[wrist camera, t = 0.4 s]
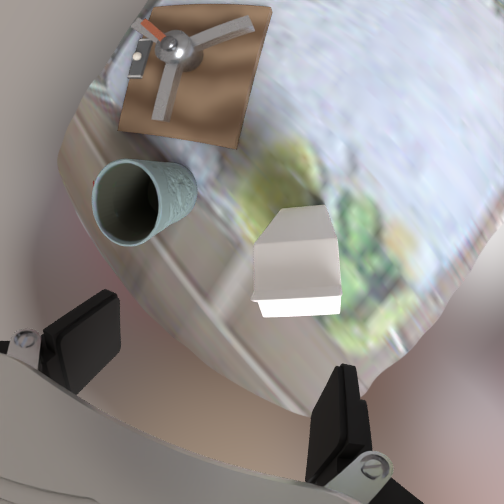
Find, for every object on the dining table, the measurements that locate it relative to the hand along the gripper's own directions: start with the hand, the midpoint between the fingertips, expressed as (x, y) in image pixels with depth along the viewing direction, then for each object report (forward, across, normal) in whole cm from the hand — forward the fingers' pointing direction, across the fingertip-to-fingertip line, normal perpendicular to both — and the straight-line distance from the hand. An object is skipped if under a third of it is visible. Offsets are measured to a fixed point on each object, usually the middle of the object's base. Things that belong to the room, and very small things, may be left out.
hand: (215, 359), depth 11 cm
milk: (+30, -3, 0) cm, 30 cm away
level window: (+28, +26, -20) cm, 44 cm away
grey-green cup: (+30, +17, 0) cm, 35 cm away
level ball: (+27, +26, -20) cm, 43 cm away
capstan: (+28, +18, -18) cm, 38 cm away
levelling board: (+30, +18, -19) cm, 40 cm away
